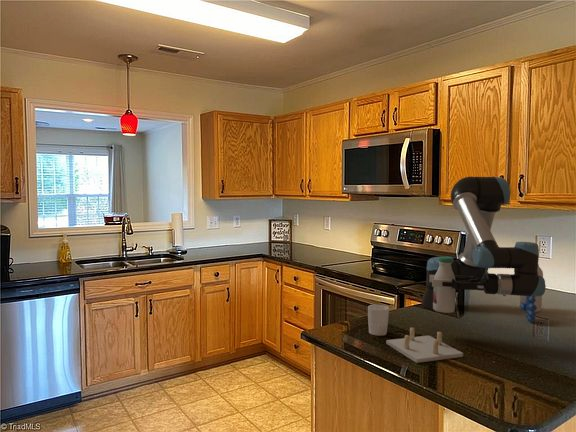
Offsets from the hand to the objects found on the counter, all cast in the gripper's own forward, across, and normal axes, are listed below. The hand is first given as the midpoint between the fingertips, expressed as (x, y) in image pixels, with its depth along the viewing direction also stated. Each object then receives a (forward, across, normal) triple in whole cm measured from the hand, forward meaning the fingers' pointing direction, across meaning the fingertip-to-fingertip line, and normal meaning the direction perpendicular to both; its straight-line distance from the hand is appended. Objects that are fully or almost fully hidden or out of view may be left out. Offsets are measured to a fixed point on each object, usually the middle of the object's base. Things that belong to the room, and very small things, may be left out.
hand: (431, 280), depth 161 cm
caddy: (+4, -16, -21) cm, 27 cm away
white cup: (+19, -2, -21) cm, 29 cm away
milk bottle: (-5, 0, -11) cm, 12 cm away
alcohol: (-51, +49, -21) cm, 74 cm away
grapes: (-44, +30, -21) cm, 57 cm away
